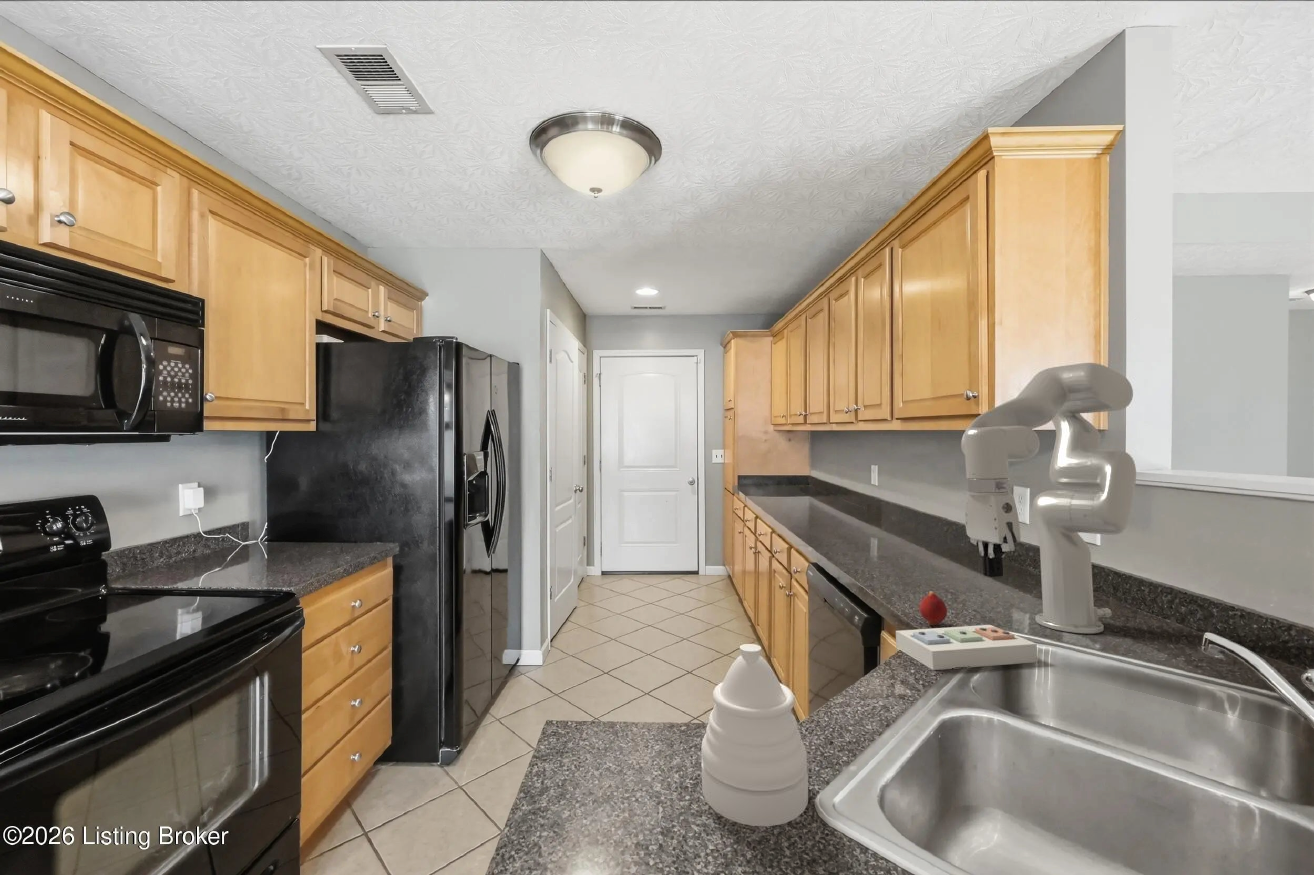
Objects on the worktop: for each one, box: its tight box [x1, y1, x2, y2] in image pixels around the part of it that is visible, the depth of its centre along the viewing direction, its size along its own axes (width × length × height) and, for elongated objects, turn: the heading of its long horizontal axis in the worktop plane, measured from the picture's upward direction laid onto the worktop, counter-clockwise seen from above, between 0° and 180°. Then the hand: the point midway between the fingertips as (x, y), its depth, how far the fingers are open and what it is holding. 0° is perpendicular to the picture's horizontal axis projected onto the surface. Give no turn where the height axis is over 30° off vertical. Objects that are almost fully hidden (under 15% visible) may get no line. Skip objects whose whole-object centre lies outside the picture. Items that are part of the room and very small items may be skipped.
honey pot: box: [700, 643, 809, 827], centre depth 65 cm, size 13×13×18 cm
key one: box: [944, 629, 983, 643], centre depth 107 cm, size 5×5×3 cm
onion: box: [919, 590, 948, 626], centre depth 125 cm, size 6×6×8 cm
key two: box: [913, 631, 950, 645], centre depth 106 cm, size 5×5×3 cm
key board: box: [895, 624, 1038, 671], centre depth 107 cm, size 22×12×4 cm, turn 97°
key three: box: [975, 626, 1015, 641], centre depth 108 cm, size 5×5×3 cm
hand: (993, 575), depth 108 cm, fingers closed
